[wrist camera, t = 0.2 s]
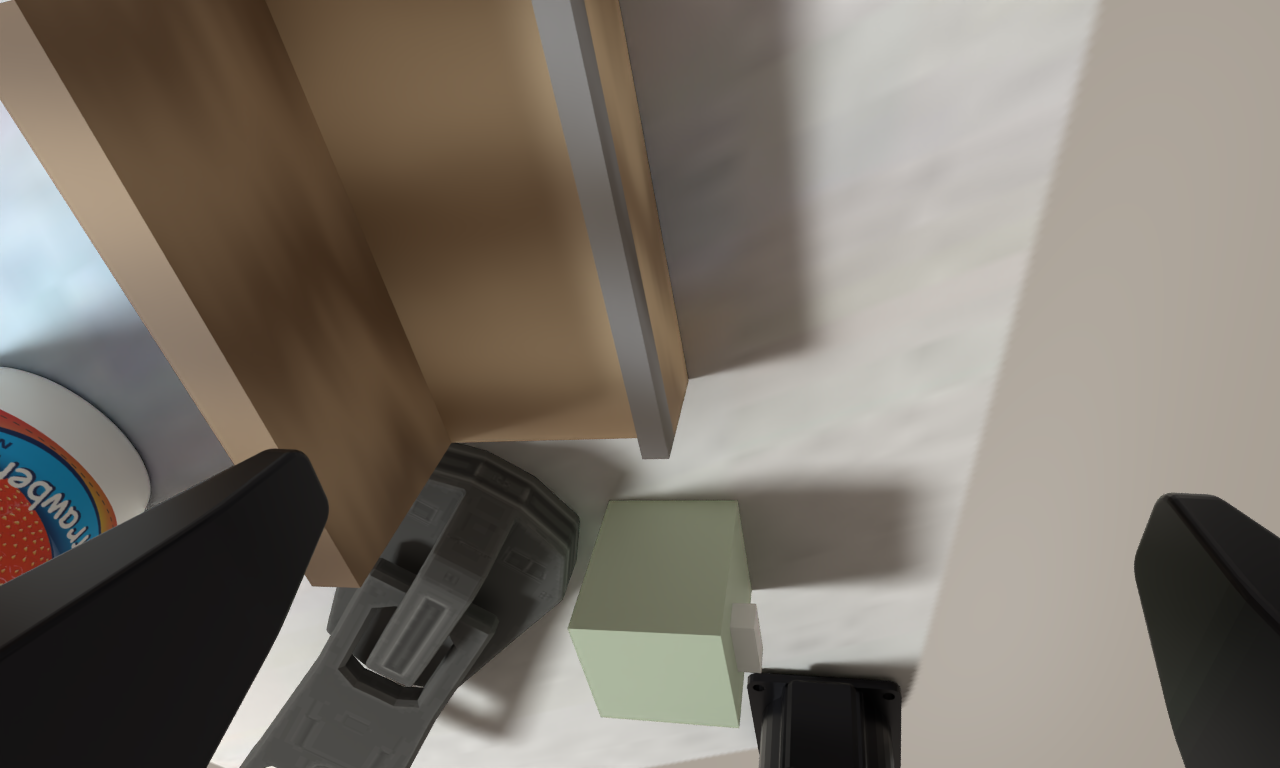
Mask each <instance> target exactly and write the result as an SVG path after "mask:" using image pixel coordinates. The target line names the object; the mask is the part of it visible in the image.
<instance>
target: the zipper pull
mask: <svg viewBox="0 0 1280 768" xmlns="http://www.w3.org/2000/svg"><path fill="white" fill-rule="evenodd" d="M579 523H580V521H579V517H578V515H577V514H575V513H574V512H573V511H572V510H571V509H570V508H569V507H568V506H567V505H566V504H564V503H563V502H562V501H561V500H560V499H559V498H558V497H557V496H556V495H555V494H553V493H552V492H551V491H550V490H549V489H548V488H547V487H546V486H545V485H544V484H542V483H541V482H540V481H539V480H538V479H537V478H536V477H534V476H532V475H531V474H529V473H527V472H525V471H523V470H521V469H520V468H518V467H516V466H514V465H512V464H510V463H508V462H507V461H505V460H503V459H501V458H499V457H497V456H496V455H494V454H492V453H490V452H488V451H485V450H481V449H477V448H474V447H470V446H466V445H463V444H459V443H451V444H450V446H449V447H448V449H447V451H446V452H445V454H444V455H443V457H442V459H441V460H440V462H439V463H438V465H437V467H436V468H435V470H434V471H433V473H432V475H431V476H430V478H429V479H428V481H427V483H426V484H425V486H424V487H423V489H422V490H421V492H420V494H419V495H418V497H417V498H416V500H415V502H414V503H413V505H412V506H411V508H410V510H409V511H408V513H407V514H406V516H405V518H404V519H403V521H402V522H401V524H400V526H399V527H398V529H397V530H396V532H395V534H394V535H393V537H392V538H391V540H390V541H389V543H388V545H387V546H386V548H385V549H384V551H383V553H382V554H381V556H380V557H379V559H378V561H377V562H376V564H375V565H374V567H373V569H372V570H371V572H370V573H369V575H368V577H367V578H366V580H365V581H364V583H363V584H362V586H361V588H349V587H337V588H336V592H335V596H334V600H333V604H332V608H331V612H330V616H329V620H328V625H327V632H328V633H329V634H330V635H331V636H330V638H329V639H328V641H327V643H326V645H325V647H324V648H323V650H322V652H321V654H320V656H319V657H318V658H317V660H316V661H315V663H314V664H313V665H312V667H311V668H310V670H309V671H308V673H307V674H306V675H305V677H304V678H303V680H302V681H301V682H300V684H299V685H298V687H297V688H296V690H295V691H294V692H293V694H292V695H291V697H290V698H289V699H288V701H287V702H286V704H285V705H284V706H283V708H282V709H281V711H280V712H279V714H278V715H277V716H276V718H275V719H274V721H273V722H272V723H271V725H270V726H269V728H268V729H267V730H266V732H265V733H264V735H263V736H262V738H261V739H260V740H259V741H258V743H257V744H256V745H255V746H254V747H253V749H252V750H251V752H250V753H249V755H248V756H247V758H246V759H245V760H244V762H243V763H242V765H241V766H240V768H266V767H269V766H274V767H276V768H410V767H411V765H412V763H413V761H414V759H415V757H416V756H417V754H418V752H419V750H420V748H421V746H422V744H423V743H424V741H425V739H426V737H427V735H428V733H429V732H430V730H431V728H432V726H433V724H434V722H435V720H436V719H437V717H438V716H439V714H440V713H441V711H442V710H443V708H444V707H445V705H446V704H447V703H448V701H449V700H450V698H451V697H452V695H453V694H454V692H455V691H456V689H457V688H458V687H459V686H461V685H462V684H463V683H464V682H465V681H466V680H468V679H469V678H470V677H471V676H472V675H473V674H475V673H476V672H477V671H478V670H479V669H480V668H482V667H483V666H484V665H485V664H486V663H488V662H489V661H490V660H491V659H492V658H493V657H495V656H496V655H497V654H498V653H499V652H500V651H502V650H503V649H504V648H505V647H506V646H507V645H509V644H510V643H511V642H512V641H513V640H515V639H516V638H517V637H518V636H519V635H520V634H522V633H523V632H524V631H525V630H526V629H528V628H529V627H530V626H531V625H532V624H534V623H535V622H536V621H537V620H539V619H540V618H541V617H542V616H544V615H545V614H546V613H547V612H549V611H550V610H551V609H552V608H553V607H555V606H556V605H557V604H558V603H560V602H561V601H562V599H563V597H564V594H565V591H566V588H567V585H568V583H569V580H570V577H571V574H572V571H573V568H574V565H575V562H576V557H577V546H578V534H579ZM354 656H355V657H356V658H357V659H358V660H360V661H361V662H362V663H363V664H365V665H366V666H367V667H368V668H369V669H371V670H373V671H376V672H378V673H380V674H382V675H384V676H386V677H388V678H390V679H392V680H394V681H396V682H398V683H401V684H403V685H405V686H407V687H403V686H401V685H399V684H397V683H395V682H393V681H391V680H389V679H387V678H385V677H383V676H380V675H378V674H376V673H374V672H372V671H370V670H368V669H365V668H364V667H363V666H362V665H361V664H360V662H359V661H358V660H357V659H356V658H355V657H354ZM412 685H418V686H423V687H424V688H418V687H411V686H412Z"/></svg>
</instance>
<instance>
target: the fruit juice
mask: <svg viewBox="0 0 1280 768" xmlns="http://www.w3.org/2000/svg"><path fill="white" fill-rule="evenodd" d="M150 492H151V487H150V480H149V476H148V473H147V470H146V468H145V466H144V463H143V461H142V459H141V457H140V456H139V454H138V453H137V451H136V449H135V448H134V447H133V445H132V444H131V442H130V441H129V440H128V439H127V438H126V436H125V435H124V434H123V433H122V432H121V431H120V430H119V428H118V427H117V426H116V425H115V424H114V423H112V422H111V421H110V420H109V419H108V418H107V417H106V416H105V415H104V414H103V413H101V412H100V411H99V410H98V409H96V408H95V407H94V406H92V405H91V404H90V403H88V402H87V401H86V400H84V399H83V398H81V397H80V396H78V395H76V394H75V393H73V392H72V391H70V390H68V389H66V388H65V387H63V386H61V385H59V384H57V383H55V382H53V381H50V380H48V379H46V378H44V377H41V376H38V375H35V374H32V373H29V372H26V371H22V370H18V369H14V368H7V367H0V585H2V584H4V583H6V582H8V581H10V580H12V579H14V578H16V577H18V576H20V575H22V574H24V573H25V572H27V571H29V570H31V569H33V568H35V567H37V566H39V565H41V564H43V563H45V562H47V561H49V560H51V559H53V558H55V557H57V556H59V555H61V554H63V553H65V552H66V551H68V550H70V549H72V548H74V547H76V546H78V545H80V544H82V543H84V542H86V541H88V540H90V539H92V538H94V537H96V536H98V535H100V534H102V533H104V532H106V531H107V530H109V529H111V528H113V527H115V526H117V525H119V524H121V523H123V522H125V521H127V520H129V519H131V518H133V517H135V516H137V515H139V514H141V513H143V512H144V510H145V508H146V506H147V504H148V502H149V498H150Z"/></svg>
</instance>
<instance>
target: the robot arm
mask: <svg viewBox="0 0 1280 768" xmlns="http://www.w3.org/2000/svg"><path fill="white" fill-rule="evenodd" d="M328 515H329V502H328V498H327V496H326V494H325V492H324V489H323V487H322V485H321V483H320V481H319V479H318V476H317V474H316V472H315V470H314V468H313V466H312V463H311V461H310V459H309V458H308V456H307V455H306V454H305V453H303V452H302V451H299V450H296V449H277V448H274V449H267V450H264V451H262V452H260V453H258V454H256V455H254V456H252V457H250V458H248V459H246V460H244V461H242V462H240V463H238V464H236V465H234V466H232V467H230V468H229V469H227V470H225V471H223V472H221V473H219V474H217V475H215V476H213V477H211V478H209V479H207V480H205V481H203V482H201V483H199V484H197V485H195V486H193V487H191V488H189V489H188V490H186V491H184V492H182V493H180V494H178V495H176V496H174V497H172V498H170V499H168V500H166V501H164V502H162V503H160V504H158V505H156V506H154V507H152V508H150V509H148V510H147V511H145V512H143V513H141V514H139V515H137V516H135V517H133V518H131V519H129V520H127V521H125V522H123V523H121V524H119V525H117V526H115V527H113V528H111V529H109V530H107V531H106V532H104V533H102V534H100V535H98V536H96V537H94V538H92V539H90V540H88V541H86V542H84V543H82V544H80V545H78V546H76V547H74V548H72V549H70V550H68V551H66V552H65V553H63V554H61V555H59V556H57V557H55V558H53V559H51V560H49V561H47V562H45V563H43V564H41V565H39V566H37V567H35V568H33V569H31V570H29V571H27V572H25V573H24V574H22V575H20V576H18V577H16V578H14V579H12V580H10V581H8V582H6V583H4V584H2V585H0V768H207V766H208V764H209V762H210V760H211V759H212V757H213V755H214V753H215V751H216V749H217V747H218V746H219V744H220V742H221V740H222V738H223V736H224V735H225V733H226V731H227V729H228V727H229V725H230V724H231V722H232V720H233V718H234V716H235V714H236V712H237V711H238V709H239V707H240V705H241V703H242V701H243V700H244V698H245V696H246V694H247V692H248V690H249V689H250V687H251V685H252V683H253V681H254V679H255V677H256V676H257V674H258V672H259V670H260V668H261V666H262V665H263V663H264V661H265V659H266V657H267V655H268V654H269V652H270V650H271V648H272V646H273V644H274V642H275V640H276V638H277V636H278V634H279V632H280V630H281V627H282V625H283V623H284V621H285V619H286V616H287V614H288V612H289V610H290V607H291V605H292V602H293V600H294V598H295V595H296V593H297V591H298V588H299V586H300V584H301V581H302V579H303V577H304V574H305V572H306V569H307V567H308V565H309V562H310V560H311V558H312V555H313V553H314V551H315V548H316V546H317V544H318V541H319V539H320V537H321V534H322V532H323V529H324V527H325V525H326V522H327V519H328ZM1134 572H1135V580H1136V584H1137V588H1138V592H1139V596H1140V600H1141V605H1142V609H1143V612H1144V617H1145V621H1146V625H1147V629H1148V633H1149V637H1150V641H1151V645H1152V649H1153V653H1154V657H1155V661H1156V666H1157V670H1158V674H1159V678H1160V682H1161V686H1162V690H1163V694H1164V699H1165V703H1166V706H1167V711H1168V714H1169V718H1170V721H1171V725H1172V729H1173V732H1174V736H1175V739H1176V742H1177V745H1178V747H1179V750H1180V753H1181V756H1182V759H1183V762H1184V764H1185V767H1186V768H1280V538H1279V537H1278V536H1276V535H1275V534H1273V533H1272V532H1270V531H1269V530H1267V529H1266V528H1264V527H1263V526H1261V525H1260V524H1258V523H1257V522H1255V521H1254V520H1252V519H1251V518H1250V517H1248V516H1247V515H1245V514H1243V513H1242V512H1241V511H1239V510H1237V509H1236V508H1235V507H1233V506H1232V505H1230V504H1229V503H1227V502H1226V501H1224V500H1222V499H1220V498H1219V497H1216V496H1213V495H1207V494H1188V493H1167V494H1164V495H1162V496H1161V497H1160V498H1159V499H1158V500H1157V502H1156V503H1155V505H1154V508H1153V510H1152V513H1151V515H1150V518H1149V520H1148V523H1147V526H1146V528H1145V531H1144V533H1143V536H1142V539H1141V541H1140V544H1139V546H1138V549H1137V552H1136V555H1135V561H1134ZM747 689H748V694H749V700H750V706H751V711H752V717H753V722H754V728H755V733H756V739H757V744H758V750H759V754H760V757H759V768H900V766H901V689H900V686H899V685H898V684H897V683H894V682H891V681H880V680H863V679H846V678H830V677H813V676H796V675H780V674H763V673H754V674H751V675H750V676H749V677H748V684H747Z"/></svg>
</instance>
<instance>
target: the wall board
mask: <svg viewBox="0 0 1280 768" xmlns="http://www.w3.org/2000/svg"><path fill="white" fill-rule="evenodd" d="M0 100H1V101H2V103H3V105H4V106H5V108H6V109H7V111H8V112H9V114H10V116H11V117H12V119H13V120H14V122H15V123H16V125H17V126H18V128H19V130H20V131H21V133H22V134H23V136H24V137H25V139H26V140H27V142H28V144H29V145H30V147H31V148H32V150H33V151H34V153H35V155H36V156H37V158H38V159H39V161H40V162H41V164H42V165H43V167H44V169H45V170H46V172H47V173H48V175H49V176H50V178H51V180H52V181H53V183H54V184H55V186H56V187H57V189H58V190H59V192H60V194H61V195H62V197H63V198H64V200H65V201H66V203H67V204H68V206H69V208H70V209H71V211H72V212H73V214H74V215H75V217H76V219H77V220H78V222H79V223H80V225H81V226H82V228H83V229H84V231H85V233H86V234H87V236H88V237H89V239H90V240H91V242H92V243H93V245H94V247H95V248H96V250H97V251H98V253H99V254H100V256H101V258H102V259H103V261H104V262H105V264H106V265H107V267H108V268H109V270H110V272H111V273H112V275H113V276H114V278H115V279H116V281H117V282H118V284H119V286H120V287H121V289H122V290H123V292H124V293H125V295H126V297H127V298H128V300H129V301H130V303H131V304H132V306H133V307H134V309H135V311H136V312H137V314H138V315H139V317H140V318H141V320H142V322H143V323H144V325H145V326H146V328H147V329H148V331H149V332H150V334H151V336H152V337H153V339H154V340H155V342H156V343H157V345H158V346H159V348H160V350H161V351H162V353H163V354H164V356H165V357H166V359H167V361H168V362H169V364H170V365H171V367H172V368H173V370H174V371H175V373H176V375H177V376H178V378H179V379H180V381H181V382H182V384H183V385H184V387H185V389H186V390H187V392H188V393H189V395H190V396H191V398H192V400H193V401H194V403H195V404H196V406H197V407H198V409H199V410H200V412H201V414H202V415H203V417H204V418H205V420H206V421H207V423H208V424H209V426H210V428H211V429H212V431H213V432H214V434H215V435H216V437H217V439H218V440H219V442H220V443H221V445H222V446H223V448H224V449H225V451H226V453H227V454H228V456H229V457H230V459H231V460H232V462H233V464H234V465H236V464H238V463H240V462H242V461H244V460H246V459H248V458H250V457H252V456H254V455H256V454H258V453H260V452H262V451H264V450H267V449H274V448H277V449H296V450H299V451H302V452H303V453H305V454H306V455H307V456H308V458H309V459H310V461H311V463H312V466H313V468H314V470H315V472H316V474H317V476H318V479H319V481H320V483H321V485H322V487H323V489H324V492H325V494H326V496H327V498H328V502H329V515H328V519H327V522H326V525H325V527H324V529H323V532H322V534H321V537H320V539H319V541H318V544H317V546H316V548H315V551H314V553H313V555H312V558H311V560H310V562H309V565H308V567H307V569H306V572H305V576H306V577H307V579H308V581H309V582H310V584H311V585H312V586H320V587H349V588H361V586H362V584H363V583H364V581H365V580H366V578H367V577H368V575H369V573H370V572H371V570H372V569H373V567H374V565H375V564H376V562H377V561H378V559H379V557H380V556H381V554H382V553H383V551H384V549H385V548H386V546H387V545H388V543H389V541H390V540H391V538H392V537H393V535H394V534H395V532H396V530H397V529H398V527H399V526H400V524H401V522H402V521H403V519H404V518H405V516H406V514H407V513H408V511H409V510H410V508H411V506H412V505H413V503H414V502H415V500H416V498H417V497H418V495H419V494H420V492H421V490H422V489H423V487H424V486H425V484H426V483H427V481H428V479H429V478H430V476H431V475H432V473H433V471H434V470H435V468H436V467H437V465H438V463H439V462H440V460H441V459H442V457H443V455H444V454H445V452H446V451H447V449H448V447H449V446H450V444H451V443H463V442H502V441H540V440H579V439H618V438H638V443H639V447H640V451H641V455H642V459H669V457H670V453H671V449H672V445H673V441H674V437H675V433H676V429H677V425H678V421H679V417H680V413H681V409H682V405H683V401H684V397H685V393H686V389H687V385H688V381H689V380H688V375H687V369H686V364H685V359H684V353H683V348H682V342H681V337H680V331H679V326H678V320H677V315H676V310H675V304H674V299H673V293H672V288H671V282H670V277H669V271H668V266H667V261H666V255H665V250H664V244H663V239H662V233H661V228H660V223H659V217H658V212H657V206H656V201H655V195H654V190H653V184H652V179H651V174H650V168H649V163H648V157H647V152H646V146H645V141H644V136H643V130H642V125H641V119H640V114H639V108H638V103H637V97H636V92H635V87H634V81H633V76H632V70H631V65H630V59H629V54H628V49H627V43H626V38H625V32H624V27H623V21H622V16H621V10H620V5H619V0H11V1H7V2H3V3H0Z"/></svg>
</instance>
